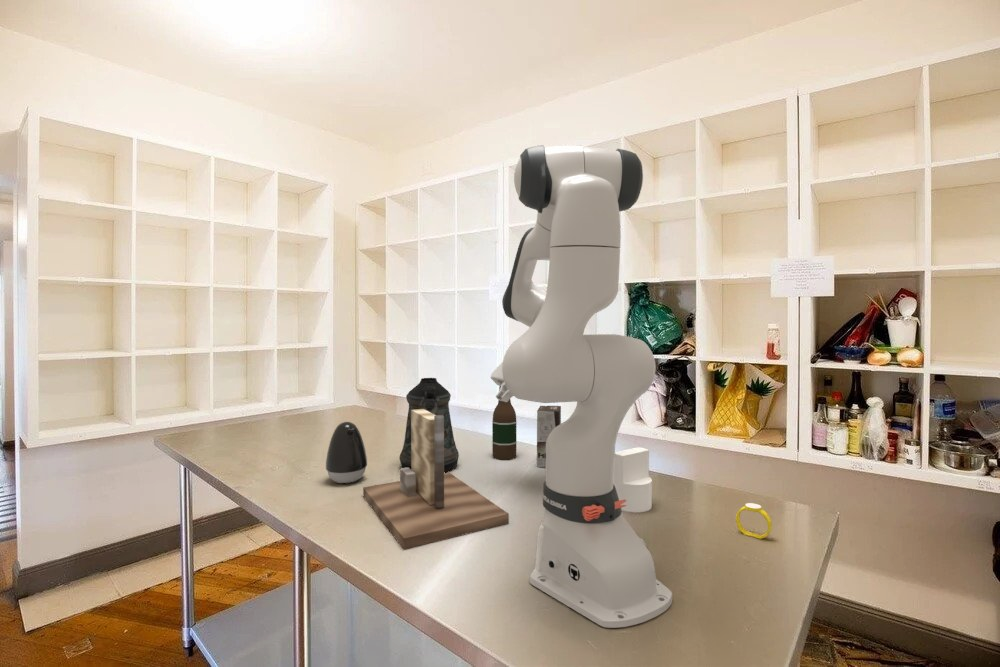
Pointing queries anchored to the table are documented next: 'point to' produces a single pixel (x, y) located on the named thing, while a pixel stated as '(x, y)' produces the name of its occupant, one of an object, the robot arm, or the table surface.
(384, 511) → the wooden board with peg
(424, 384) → the beer stein
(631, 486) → the base with upright slab
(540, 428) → the coffee box
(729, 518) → the table surface
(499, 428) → the beer bottle
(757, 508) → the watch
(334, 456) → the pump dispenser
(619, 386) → the robot arm
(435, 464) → the wood grain panel
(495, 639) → the table surface
